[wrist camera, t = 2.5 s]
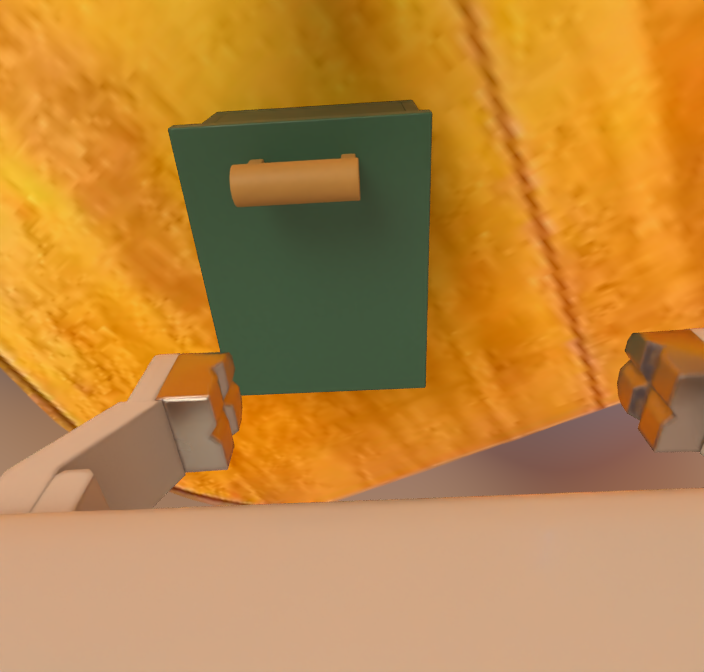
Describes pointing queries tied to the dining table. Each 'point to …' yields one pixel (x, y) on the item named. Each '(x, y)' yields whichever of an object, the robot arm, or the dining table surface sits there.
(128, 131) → the dining table surface
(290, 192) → the lid
